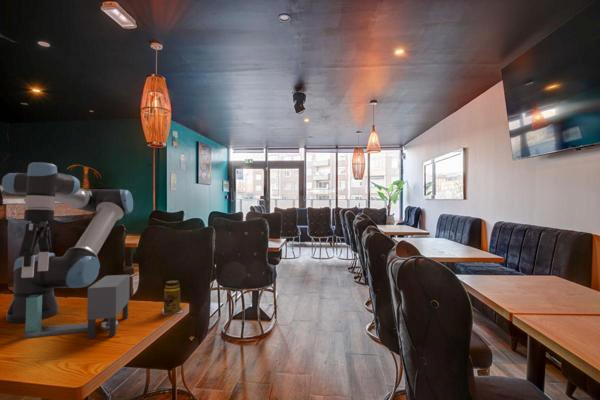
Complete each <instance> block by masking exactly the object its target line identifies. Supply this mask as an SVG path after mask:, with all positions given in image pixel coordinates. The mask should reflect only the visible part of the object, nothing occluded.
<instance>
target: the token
mask: <svg viewBox="0 0 600 400" xmlns="http://www.w3.org/2000/svg"><path fill="white" fill-rule="evenodd" d="M100 326H101V327H100V329H101V330H103V331H109V320H105V321H103V322H101V325H100ZM118 327H119V320H118V319H116V328H118Z"/></svg>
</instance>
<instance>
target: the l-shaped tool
mask: <svg viewBox="0 0 600 400" xmlns="http://www.w3.org/2000/svg"><path fill="white" fill-rule="evenodd" d="M42 323H43V321H42V295H31V296H29V297H27V298H26V322H25V327H24V328H25V329H24V330H25V332H23V339H26V338H28V339H29V338H36V337H45V336H46V337H47V336H56V335H68V334H77V333H88V322H81V323H68V324H57V325H56V324H55V325H46V326H42Z"/></svg>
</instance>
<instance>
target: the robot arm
mask: <svg viewBox="0 0 600 400" xmlns="http://www.w3.org/2000/svg"><path fill="white" fill-rule="evenodd" d="M1 187H2V189H3V191H5V193H8V194H12V195H13V194H14V195H25V198H23V202H24V203H25V208H26V209H25V210H24V216H23V217H24V218H23V220H24V221H25V222H30V223H26V224H25V232H24V235H23V238H22V239H23V240H22V243H21V246H20V251H19V253H18V257H19V258H17V259H16V260H15V261H14V265H13V266H14V267H13V292H12V293H13V295H12V296H13V298H12V300H11V302H10V305H9V307H8V310H7V311H6V315H5V316H6V317H5V320H6V322H7V323H14V324H17V323H19V324H20V323H26V298H27V297H29V296H31V295H42V319H46V318H49V317H52V316H54V315H57V314H59V311H60V309H59V308H60V305H59V302H58V300H57V298H56V295H55V292H54V291H55V290H54V289H57V288H58V289H59V288H60V289H61V288H62V289H65V288H68V289H69V288H70V289H78V288H85V287H89V286H91V284H94V283H95V280H96V279H97V277H98V276H99V273H100V271H99V270H100V268H101V264H100V259H99V258H98V254H99V252H100V250H101V248H102V247H103V245H104V243H105V242H106V240H107V238H108V237H109V235H110V233H111V231H112V229H113V228H114V225H115V224H116V222H117V221H119V220H121V219H122V218H124V217H123V216H124V215H125V214H126V215H127V214H131V213H132V212H133V209H134V199H133V195H132V193H131V192H130V191H129V189H106V188H105V189H99V188H98V189H88V188H87V189H85V188H81V182H80V180H79V179H78V178H77V177H75V176H73V175H71V174H65V173H62V172H61V173H60V172H58V166H57V165H55V164H53V163H49V162H39V161H38V162H34V161H33V162H31V163H29V164H28V167H27V172H25V173H24V172H8V173H7V174H5V175H4V176H3V177H2V179H1ZM56 203H61V204H66V205H69V206H70V207H71V208H72V209H76V210H81V211H84V212H89V213H93V214H94V213H95V215H94V217H93V218H92V220H91V221H90V223H89V224H88V225H87V227H86V228H85V231H84V232H83V233H82V235H81V236H80V238H79V239H78V241H77V242H76V244H75V246H73V247H70V248H68V249H67V250H66V251H65V253H64V255H63V256H56V254H55V253H54V252H53V246H52V238H51V224H50V223H47V222H52V221H54V219H55V211H54V210H53V209H56ZM37 245H38V248H39V252H38V254H35V251H36V249H37ZM93 282H94V283H93Z"/></svg>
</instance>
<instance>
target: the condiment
mask: <svg viewBox="0 0 600 400" xmlns="http://www.w3.org/2000/svg"><path fill="white" fill-rule="evenodd" d="M164 284H165V286H164V289H163V308H161V310H162V316H167V315H174V314H181V313H183V308H182V305H181V288H180V281H179V280H166V282H165V283H164Z"/></svg>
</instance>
